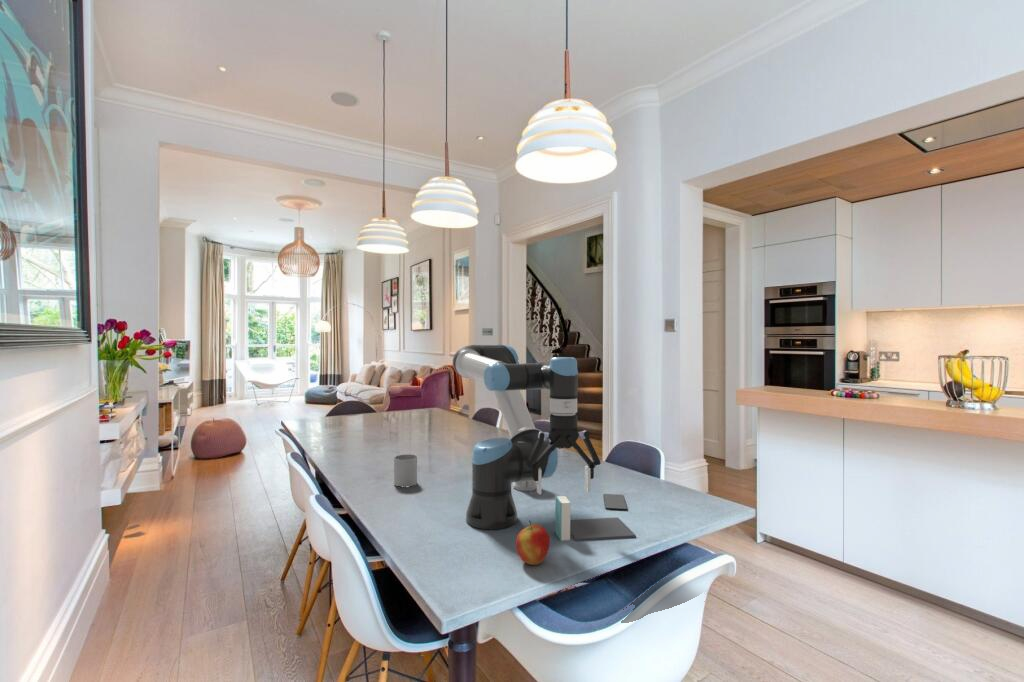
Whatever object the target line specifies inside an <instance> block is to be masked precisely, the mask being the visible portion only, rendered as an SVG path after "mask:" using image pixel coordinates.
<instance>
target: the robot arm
mask: <svg viewBox="0 0 1024 682" xmlns="http://www.w3.org/2000/svg"><path fill="white" fill-rule="evenodd" d="M452 367H453V370H454V371H455V372H456V373H457V374H458V375H459V376H462V377H463V378H468V379H469V378H474V379H475V380H477V381H478V380H479V381H480V382H483V383H484V385H485V388H486V389H487V390H488V391H490V392H491V391H492V392H493V393H494V395H495V398H496V400H497V404H498V406H499V408H500V411H501V414H502V417H503V419H504V422H505V426H506V428H507V432H508V434H509V437H510V438H506V437H499V438H498V437H494V438H488V439H484V440H481V441H479V442H478V443H476V444H475V445H474V447H473V449H472V458H471V464H472V467H471V468H472V471H471V474H472V475H471V476H472V479H471V480H472V484H471V486H472V487H471V488H472V492H471V497H470V501H469V504H468V506H467V509H466V512H465V513H466V514H465V518H466V519H465V521H466V523H467V524H468V525H469V526H471V527H473V528H475V529H476V528H477V529H480V530H481V529H482V530H500V529H505V528H510V527H511V526H514V525H515V524H516V523H517V522H518V511H517V507H516V504H515V500H514V498H513V494H512V483H514V482H520V481H528V480H534V481H536V482H537V488H536V492H537V494H538V495H542V480H543V479H546V478H547V479H548V478H551V477H552V476H553V475H554V474H555V472H556V471H557V467H558V463H559V462H558V461H559V454H558V453H559V451H558V449H560V450H561V449H571V448H573V449H574V450H575V451H576V453H577V454H579V457H581V458H582V459H583V461H584V462H585V463H586V464H587V465H584V490H585V491H586V492H587V493H591V480H592V479H594V477H595V475H594V474H595V473H594V471H595V468H596V466H600V465H601V460H600V458H599V455H598V454H597V452H596V449H595V448H594V446H593V443H592V442H591V441H592V440H591V439H590V433H589V431H587V430H585V429H583V430H582V431H578V430H579V429H578V414H577V413H578V390H579V389H578V385H579V383H578V382H579V381H578V380H579V379H578V378H579V377H578V376H579V370H578V361H577V359H576V358H575V357H568V356H567V357H566V356H565V357H564V356H562V357H561V356H556V357H555V356H554V357H551V358H550V360H549V363H547V362H536V363H532V362H531V363H520V362H519V356H518V353H517V351H516V350H515V349H514V347H512V346H511V345H507V344H471V345H470V344H469V345H466V346H463V347H461V348H460V349H458V350H456V352H455V353H454V355H453V357H452ZM524 390H528V391H529V390H549V412H550V413H551V414H550V415H549V431H548V432H545V431H542V430H541V429H539V428H536V426H535V424H534V423H535V422H533V419H532V416H531V413H530V412H529V409H528V406H527V404H526V401H525V400H524V397H523V394H522V391H524ZM579 437H580V439H582V440H583V442H584V444H585V446H586V448H587V450H588V454H589V455H590V456H591V458H592V460H591V458H590V457H589V456H588V455H587V454H586V453H585V452H584V450H583V449H582V448H581V447H580V445H579V444H578V443H577V440H578V439H579Z"/></svg>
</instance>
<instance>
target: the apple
mask: <svg viewBox="0 0 1024 682" xmlns="http://www.w3.org/2000/svg"><path fill="white" fill-rule="evenodd" d="M528 522H529V525H528V526H527V527H524V528H523V529H521V530H520V531H519V532H518V534H517V536H516V540H515V545H516V546H515V547H516V551H517V554H518V556H519V557H520V559H521V560H522V561H523V562H524V563H525V564H527V565H530V566H536V565H539V564H541V563H542V562H543V561H544V560H545V559H546V557H547V555H548V553H549V550H550V546H551V538H550V535H549V533H548V531H547V530H546V529H545V528H544V527H543V526H542V525H540V524H536V523H535V524H532V523H531V519H530V520H528Z"/></svg>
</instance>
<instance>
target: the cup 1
mask: <svg viewBox="0 0 1024 682" xmlns="http://www.w3.org/2000/svg"><path fill="white" fill-rule="evenodd" d="M415 484H416V485H418V455H415V454H409V453H407V454H398V455H396V456H394V457H393V486H394V485H396V486H401V487H402V486H403V487H406V486H412V487H414V486H413V485H415ZM416 485H415V486H416ZM396 486H395V487H396ZM406 488H407V487H406Z"/></svg>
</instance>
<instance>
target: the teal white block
mask: <svg viewBox="0 0 1024 682" xmlns="http://www.w3.org/2000/svg"><path fill="white" fill-rule="evenodd" d="M570 520H571V501H570V500H569V499H568V498H567V497H566V495H556V496H555V522H554V523H555V534H556V536H557V538H558V539H559V541H571V534H570Z"/></svg>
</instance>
